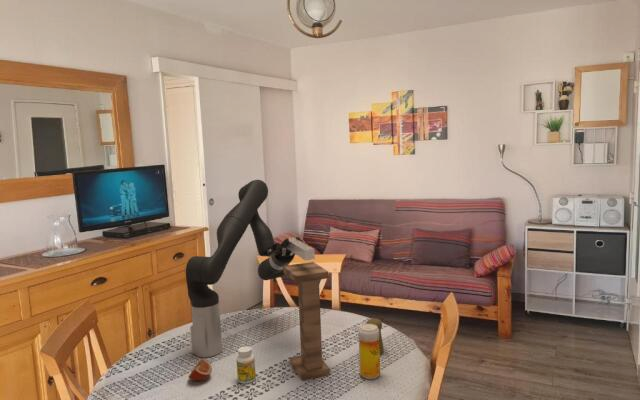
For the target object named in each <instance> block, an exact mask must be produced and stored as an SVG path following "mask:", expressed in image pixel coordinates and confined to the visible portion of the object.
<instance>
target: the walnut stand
mask: <svg viewBox="0 0 640 400" xmlns="http://www.w3.org/2000/svg"><path fill="white" fill-rule="evenodd" d="M283 272H284V273H285V275H286V276H287V277H289V278H290V280H292V281H293V282H294V283H296V284H297V290H298V291H297V292H298V293H297V295H298V296H297V297H298V314H299V337H300V338H299V340H300V342H299V343H300V355H296V356H293V357H289V365H290V366H291V367H292V369H293V371H294V372H295V374H297V376H298V377H299V379H300V380H301V381H303V382H304V381H307V380H311V379H316V378H321V377H325V376H329V375H331V367H329V365H328V364H327V363H326V362H325V361H324V360H323V350H322V349H323V348H322V347H323V346H322V343H323V342H322V323H321V322H322V319H321V318H322V317H321V299H320V298H321V296H320V280H326V279H329V271H328V270H327V269H325V268H324V267H322V266H321V265H319V264H317V263H315V262H314V261H312V262H311V261H310V262H302V263H296V264H289V265H286V266H283Z"/></svg>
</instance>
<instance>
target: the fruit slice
mask: <svg viewBox="0 0 640 400" xmlns="http://www.w3.org/2000/svg"><path fill="white" fill-rule="evenodd" d="M212 371H213V368H212V365H211V364H210V362H209V361H208V360H206V358H205V357H201V359H200V360H199V361H198V362H197V364H196V365H195V366H194V368H193V369H192V371H191V372H190V374H189V375H188V379H190V380H191V381H194V382H198V381H202V380H205V379H207V378H208V377H209V376H210V375H211V374H212Z"/></svg>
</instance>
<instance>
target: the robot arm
mask: <svg viewBox="0 0 640 400" xmlns="http://www.w3.org/2000/svg"><path fill="white" fill-rule="evenodd" d="M268 195H269V188H268V185H267V183H266V182H264V180H262V179H254V180H251V181H249V182H248V183H247V184H244V185H243V186H242V187H241V188H240V189H239V190H238V195H237V196H238V200H239V202H238V203H237V204H235V206H233V207H232V208H231V210H229V211H228V213H226V214H225V216H224V217H223V219H222V220H221V222H220V223H219V225H218V226H217V229H216V240H217V248H216V250H215V252H214V253H213V254H212V255H210V256H201V255H199V256H197V255H195V256H192V257H190V258H189V259H188V260H187V263H186V267H185V279H186V288H187V295H188V299H189V300H190V307H191V319H192V320H191V321H192V325H190V328H189V329H190V341H191V343H190V344H191V354H193V355H195V356H196V357H199V358H210V357H215V356H217V355H218V354H220V353H221V352H222V351H223V342H222V328H221V327H222V325H221V313H220V312H221V311H220V309H221V308H220V300H219V299H220V297H219V294H218V292H217V291H215V290H213V289H212V288H210V287H209V286H211V285H215V284H217V283H218V282H219V281H220V279H221V278H222V275H223V273H224V271H225V269H226V267H227V265H228V262H229V260H230V259H231V257H232V254H233V253H234V250H235V249H236V247H237V245H238V243H239V242H240V241H241V239H242V238H243V236H244V234H245V232H246V231H247V229H248V226H249V225H250V228H251V231H252V234H253V238H254V241H255V245H256V246H255V247H256V249H257V253H258V255H259V256H261V257H267V258H266V259H264V260H262V261H261V262H259V264H258V268H257V275H258V276H259V278H260V279H262V280H263V281H270V280H273V279H275V280H276V279H278V278H282V277H284V276H285V275H286V274H285V273H284V272H283V266H286V265H291V263H292V261H293V259H295V256H296V254H295V253H293V252H292V251H290V250H289V249H287V247H288V245H289V238H290V237H285V238H286V239H285V238H284V240H283V241H281V242H276V243H275V240H274V236H273V233H272V231H271V229H270V227H269V226H268V225H267V223H266V222H264V220H263V219H262V217H261V216H260V214H259V212H258V209H259V208H260V207H261V205H263V203H264V202H265V201H266V199H268ZM294 238H295V239H297V240H299V241H301V242H303V243H304V241H303V240H302V239H301V238H300V237H299V236H296V237H294Z"/></svg>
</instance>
